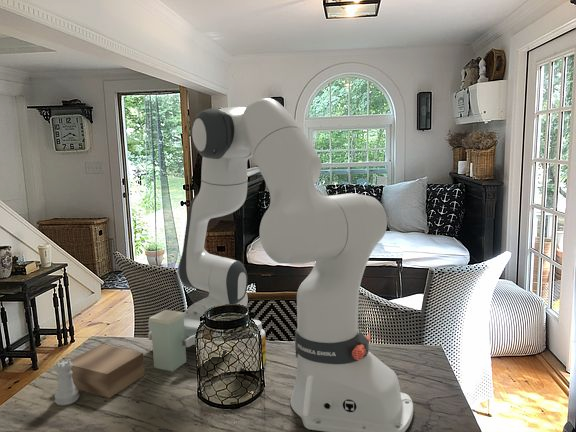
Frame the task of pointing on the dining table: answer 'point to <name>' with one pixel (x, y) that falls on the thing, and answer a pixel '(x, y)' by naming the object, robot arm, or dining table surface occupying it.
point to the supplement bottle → (262, 340)
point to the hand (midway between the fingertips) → (167, 340)
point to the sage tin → (168, 339)
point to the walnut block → (107, 369)
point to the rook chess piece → (65, 384)
